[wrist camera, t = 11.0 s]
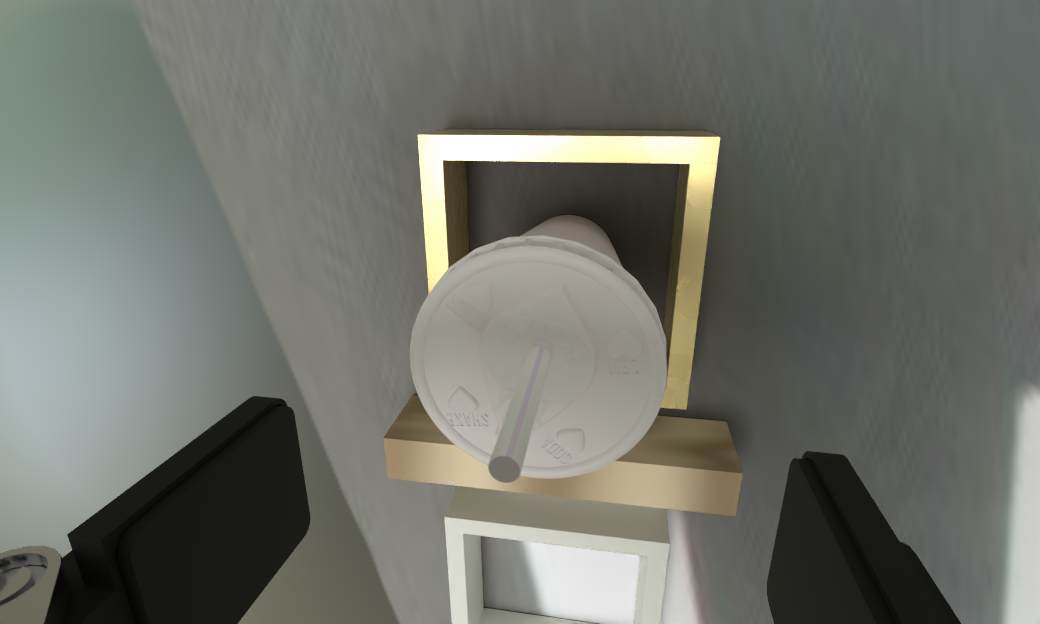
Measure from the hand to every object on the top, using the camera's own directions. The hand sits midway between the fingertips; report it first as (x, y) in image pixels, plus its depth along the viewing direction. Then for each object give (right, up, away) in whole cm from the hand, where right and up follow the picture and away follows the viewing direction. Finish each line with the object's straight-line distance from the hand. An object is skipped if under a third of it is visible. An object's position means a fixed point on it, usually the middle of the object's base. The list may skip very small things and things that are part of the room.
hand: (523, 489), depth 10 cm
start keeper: (+2, -9, +18) cm, 20 cm away
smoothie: (+2, +5, +12) cm, 13 cm away
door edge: (+2, -2, +15) cm, 15 cm away
